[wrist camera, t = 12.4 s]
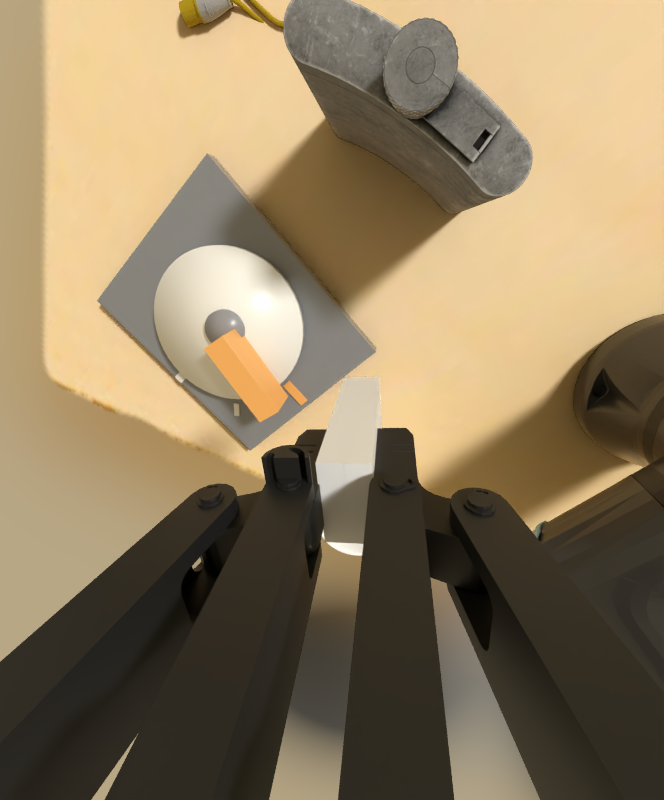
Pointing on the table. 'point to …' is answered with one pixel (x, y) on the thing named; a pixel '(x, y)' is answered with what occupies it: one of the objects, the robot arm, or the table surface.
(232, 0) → the extension cord
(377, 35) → the flask
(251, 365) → the dial
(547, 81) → the table surface
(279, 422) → the dial housing
